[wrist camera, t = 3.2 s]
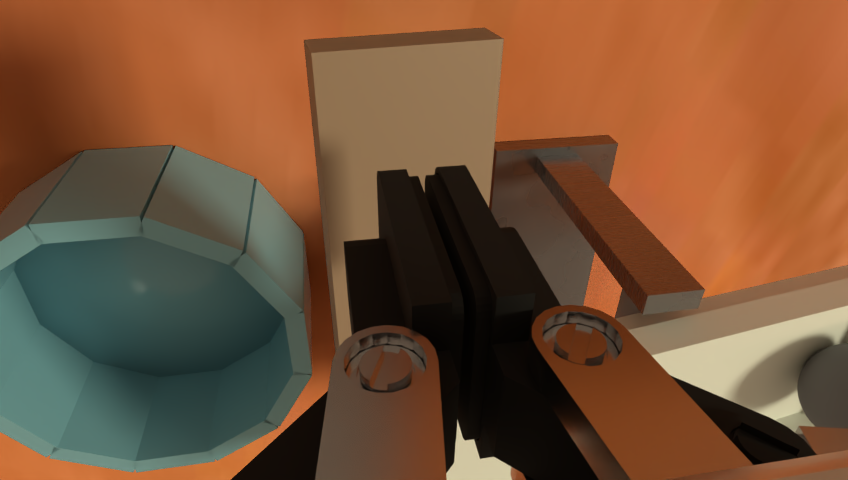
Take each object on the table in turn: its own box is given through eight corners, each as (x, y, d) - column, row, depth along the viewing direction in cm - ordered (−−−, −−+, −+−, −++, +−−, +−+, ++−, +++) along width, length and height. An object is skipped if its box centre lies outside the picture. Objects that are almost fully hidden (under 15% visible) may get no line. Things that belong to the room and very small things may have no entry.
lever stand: (608, 135, 28) (764, 273, 19) (570, 319, 35) (671, 491, 25) (490, 142, 27) (591, 292, 18) (475, 330, 34) (542, 512, 24)
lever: (984, -16, 18) (1118, 5, 16) (780, 381, 29) (840, 436, 26) (295, 26, 13) (321, 71, 10) (347, 506, 23) (367, 593, 20)
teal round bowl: (291, 138, 25) (289, 205, 20) (319, 358, 33) (322, 446, 28) (-49, 157, 23) (-144, 237, 18) (63, 388, 31) (17, 488, 26)
